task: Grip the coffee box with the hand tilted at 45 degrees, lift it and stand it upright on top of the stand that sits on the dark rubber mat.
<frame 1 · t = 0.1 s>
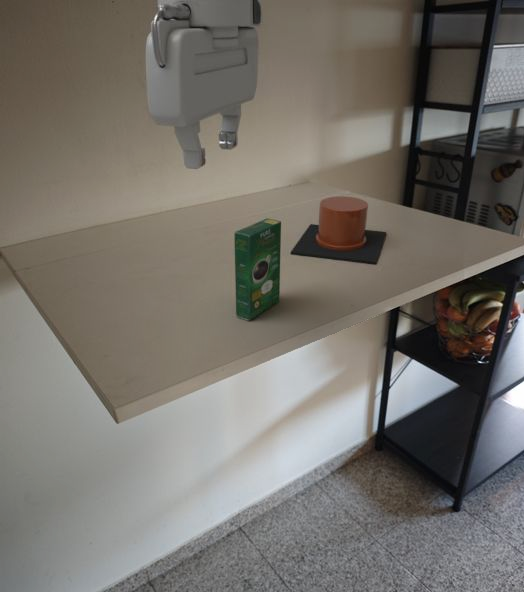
hand: (213, 157, 55), 24 cm above the table, tool pointing down, fingers open, 8 cm apart
stand: (340, 241, 98), resting on mat
coffee box: (258, 309, 76), on the table
mat: (340, 243, 98), on the table
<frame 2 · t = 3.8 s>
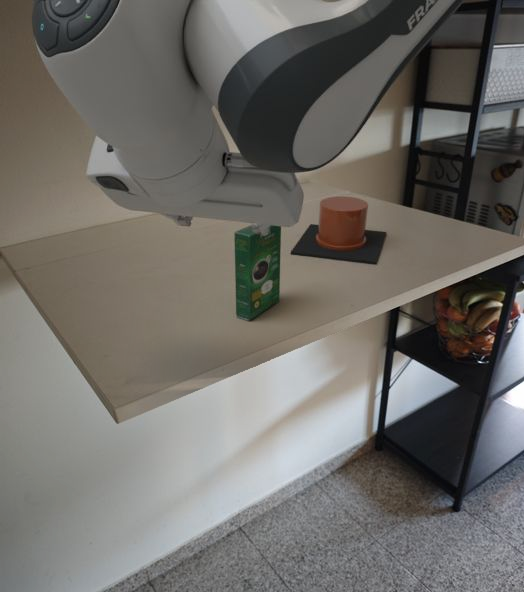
hand: (223, 224, 57), 17 cm above the table, tool tilted 45°, fingers open, 8 cm apart
nothing on the table moved.
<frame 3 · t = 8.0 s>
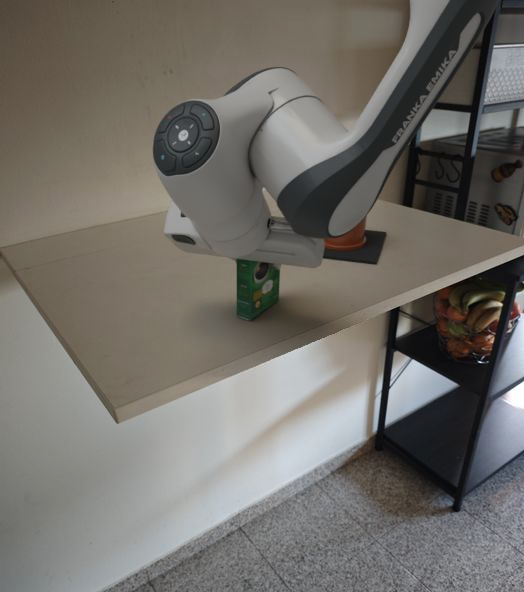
hand: (259, 262, 73), 7 cm above the table, tool tilted 45°, fingers closed on coffee box, 4 cm apart
coffee box: (258, 309, 76), on the table, touching gripper
when the fingers open (15 cm above the table, at t = 18.4 s): coffee box stays where it is, resting on stand.
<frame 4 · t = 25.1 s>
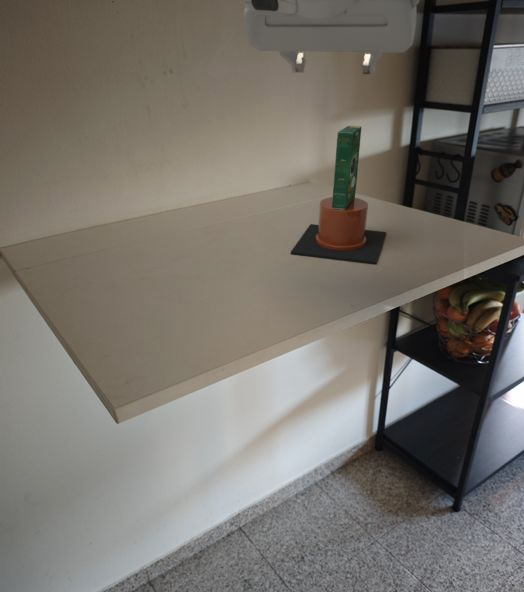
hand: (333, 69, 66), 31 cm above the table, tool tilted 45°, fingers open, 8 cm apart
coffee box: (343, 204, 94), point 8 cm above the table, touching stand
at the end: coffee box 0.0 cm off-centre on the stand, point 7.3 cm above the stand's base; coffee box tilted 0°; the gripper is holding nothing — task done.
